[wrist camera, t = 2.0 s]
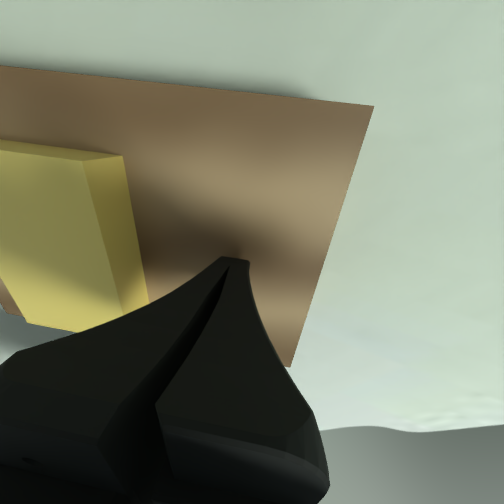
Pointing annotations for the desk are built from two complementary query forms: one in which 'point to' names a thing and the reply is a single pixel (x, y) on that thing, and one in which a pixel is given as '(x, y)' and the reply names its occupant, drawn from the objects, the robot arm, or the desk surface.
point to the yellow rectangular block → (68, 236)
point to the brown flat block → (207, 176)
